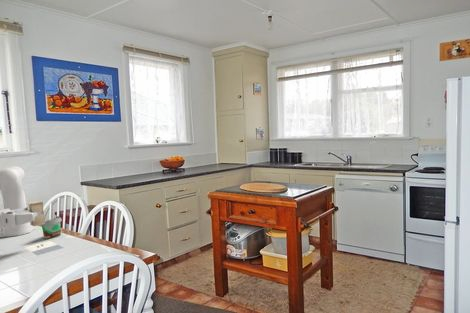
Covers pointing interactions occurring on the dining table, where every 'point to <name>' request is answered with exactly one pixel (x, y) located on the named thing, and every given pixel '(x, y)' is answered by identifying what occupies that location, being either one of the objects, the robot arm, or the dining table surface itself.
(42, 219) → the birch block
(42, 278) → the dining table surface
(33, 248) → the board
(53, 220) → the food container
